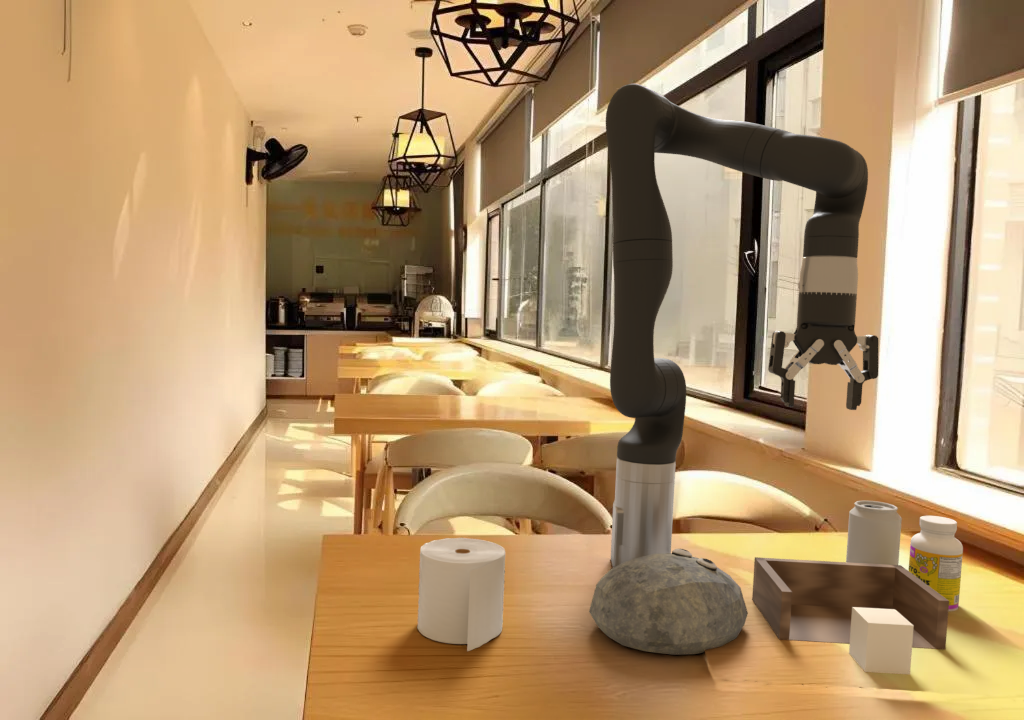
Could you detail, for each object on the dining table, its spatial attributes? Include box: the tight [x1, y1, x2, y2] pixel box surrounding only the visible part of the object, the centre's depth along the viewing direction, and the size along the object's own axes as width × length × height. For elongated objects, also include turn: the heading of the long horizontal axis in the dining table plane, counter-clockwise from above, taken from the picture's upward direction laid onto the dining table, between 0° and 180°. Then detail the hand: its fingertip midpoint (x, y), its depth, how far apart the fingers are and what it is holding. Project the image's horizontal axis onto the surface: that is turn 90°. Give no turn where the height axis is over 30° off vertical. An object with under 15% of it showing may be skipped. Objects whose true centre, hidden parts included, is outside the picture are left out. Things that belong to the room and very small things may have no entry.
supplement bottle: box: [907, 515, 964, 612], centre depth 116 cm, size 7×7×13 cm
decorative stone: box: [588, 548, 749, 656], centre depth 104 cm, size 18×21×10 cm
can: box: [845, 500, 903, 565], centre depth 128 cm, size 8×8×12 cm
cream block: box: [848, 607, 914, 675], centre depth 95 cm, size 5×5×6 cm
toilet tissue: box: [417, 537, 506, 652], centre depth 102 cm, size 11×12×10 cm
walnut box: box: [751, 556, 949, 650], centre depth 107 cm, size 20×14×7 cm
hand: (820, 407), depth 114 cm, fingers open, 8 cm apart
